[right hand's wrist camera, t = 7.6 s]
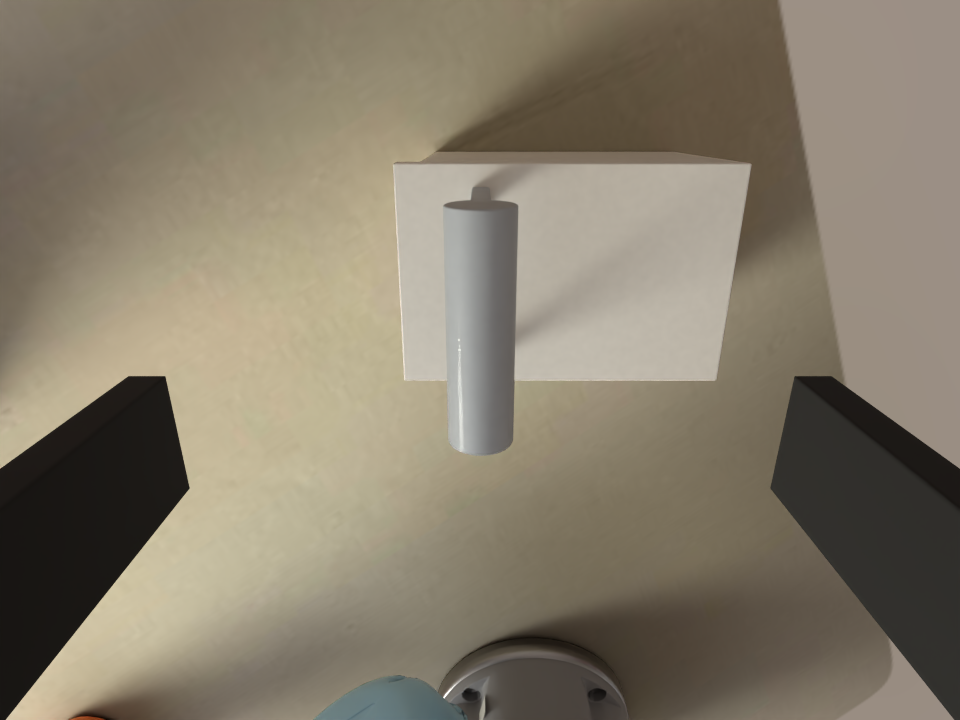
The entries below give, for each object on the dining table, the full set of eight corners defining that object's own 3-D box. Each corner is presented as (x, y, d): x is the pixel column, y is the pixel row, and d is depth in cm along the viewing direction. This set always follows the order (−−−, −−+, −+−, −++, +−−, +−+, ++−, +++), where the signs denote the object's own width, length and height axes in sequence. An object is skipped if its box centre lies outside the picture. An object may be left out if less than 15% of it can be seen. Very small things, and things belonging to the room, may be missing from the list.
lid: (406, 373, 27) (375, 475, 19) (395, 161, 24) (353, 181, 16) (709, 373, 27) (803, 476, 19) (743, 161, 24) (874, 181, 16)
